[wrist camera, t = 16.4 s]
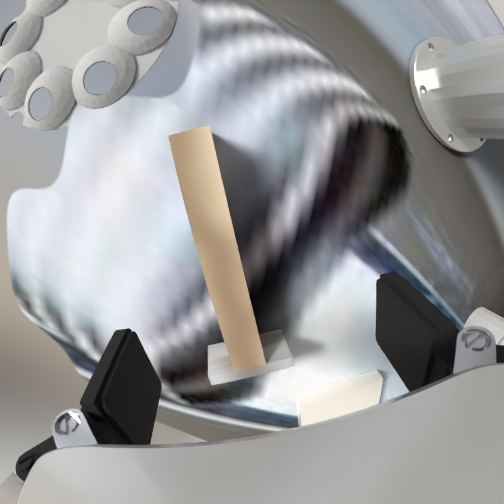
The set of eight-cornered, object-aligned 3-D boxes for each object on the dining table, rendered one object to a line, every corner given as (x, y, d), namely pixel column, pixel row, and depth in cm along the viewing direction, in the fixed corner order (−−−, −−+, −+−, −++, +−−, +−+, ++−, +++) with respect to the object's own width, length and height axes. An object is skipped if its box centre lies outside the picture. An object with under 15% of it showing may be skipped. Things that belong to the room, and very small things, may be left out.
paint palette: (39, -32, 12) (32, -39, 10) (207, -46, 15) (207, -57, 13) (-22, 129, 17) (-34, 129, 15) (141, 140, 21) (134, 138, 19)
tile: (383, 378, 29) (373, 427, 32) (375, 367, 31) (367, 416, 34) (299, 405, 28) (303, 449, 31) (294, 391, 30) (299, 437, 33)
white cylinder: (471, 301, 30) (506, 326, 23) (494, 303, 31) (525, 324, 25) (451, 346, 32) (481, 374, 25) (476, 344, 33) (503, 368, 27)
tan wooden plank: (238, 125, 21) (245, 117, 17) (282, 336, 27) (294, 365, 23) (149, 148, 21) (135, 145, 16) (210, 353, 27) (211, 385, 23)
